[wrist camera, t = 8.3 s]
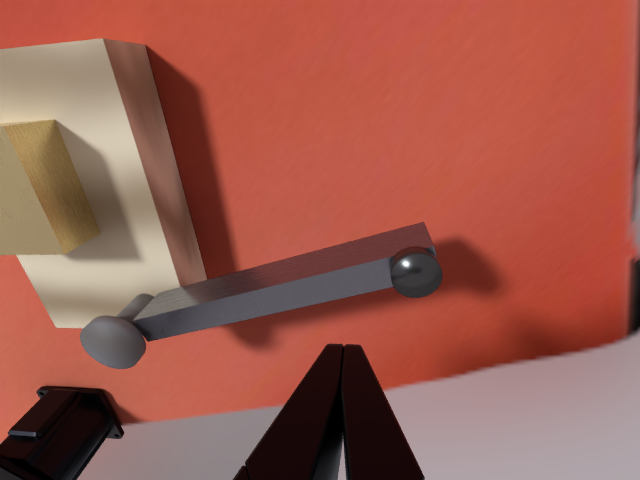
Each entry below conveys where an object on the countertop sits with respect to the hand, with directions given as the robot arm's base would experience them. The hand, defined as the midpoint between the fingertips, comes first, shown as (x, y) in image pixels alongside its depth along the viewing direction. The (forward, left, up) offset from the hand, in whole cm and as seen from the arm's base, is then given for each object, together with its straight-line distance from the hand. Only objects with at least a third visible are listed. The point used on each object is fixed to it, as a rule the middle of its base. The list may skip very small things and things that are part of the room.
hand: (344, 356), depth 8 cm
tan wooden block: (+2, +16, -9) cm, 19 cm away
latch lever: (-3, +4, -9) cm, 10 cm away
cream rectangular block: (0, +15, -12) cm, 19 cm away
